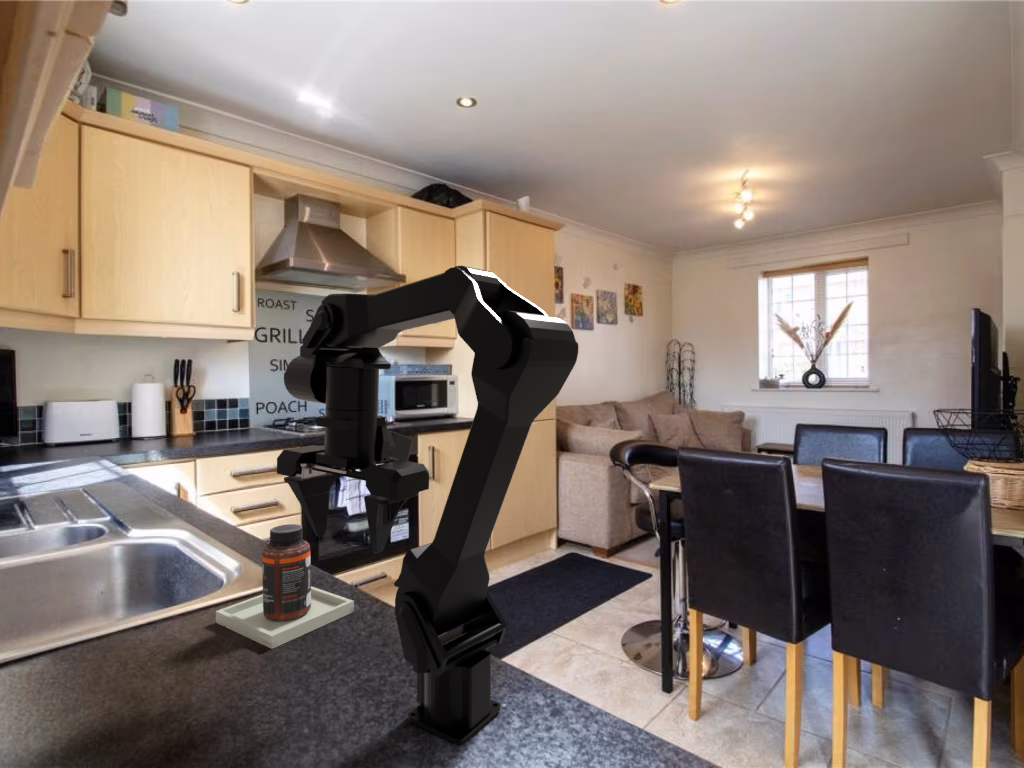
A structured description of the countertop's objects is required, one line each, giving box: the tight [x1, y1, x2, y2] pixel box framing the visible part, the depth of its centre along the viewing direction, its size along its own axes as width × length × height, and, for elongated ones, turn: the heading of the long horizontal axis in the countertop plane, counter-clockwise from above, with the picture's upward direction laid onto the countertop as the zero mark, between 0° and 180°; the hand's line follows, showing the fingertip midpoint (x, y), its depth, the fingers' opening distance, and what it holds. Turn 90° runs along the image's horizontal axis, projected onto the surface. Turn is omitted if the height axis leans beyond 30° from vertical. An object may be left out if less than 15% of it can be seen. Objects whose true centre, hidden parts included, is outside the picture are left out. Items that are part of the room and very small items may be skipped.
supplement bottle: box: [261, 523, 312, 621], centre depth 74 cm, size 6×6×11 cm
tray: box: [215, 585, 355, 650], centre depth 74 cm, size 12×12×2 cm
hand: (348, 543), depth 64 cm, fingers open, 9 cm apart
